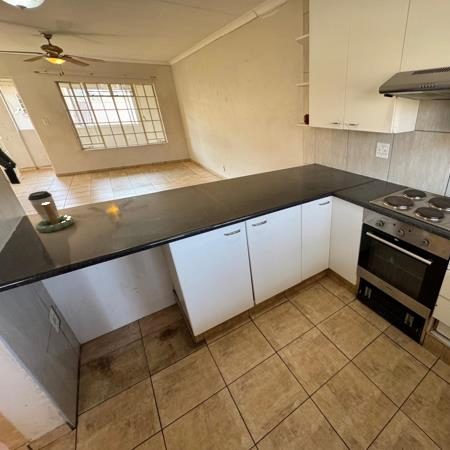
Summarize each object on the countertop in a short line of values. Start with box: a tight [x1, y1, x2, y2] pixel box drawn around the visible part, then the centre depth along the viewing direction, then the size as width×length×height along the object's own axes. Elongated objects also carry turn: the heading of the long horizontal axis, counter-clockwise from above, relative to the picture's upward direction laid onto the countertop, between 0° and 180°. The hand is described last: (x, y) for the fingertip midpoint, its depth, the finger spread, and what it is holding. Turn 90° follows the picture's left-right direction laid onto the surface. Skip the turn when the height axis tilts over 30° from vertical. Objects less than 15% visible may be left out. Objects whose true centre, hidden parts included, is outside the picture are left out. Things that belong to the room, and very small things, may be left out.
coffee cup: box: [27, 190, 60, 221], centre depth 131 cm, size 9×9×15 cm
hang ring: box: [34, 215, 74, 233], centre depth 122 cm, size 14×14×3 cm
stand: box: [41, 202, 61, 226], centre depth 121 cm, size 9×9×14 cm
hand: (3, 188), depth 102 cm, fingers open, 13 cm apart
